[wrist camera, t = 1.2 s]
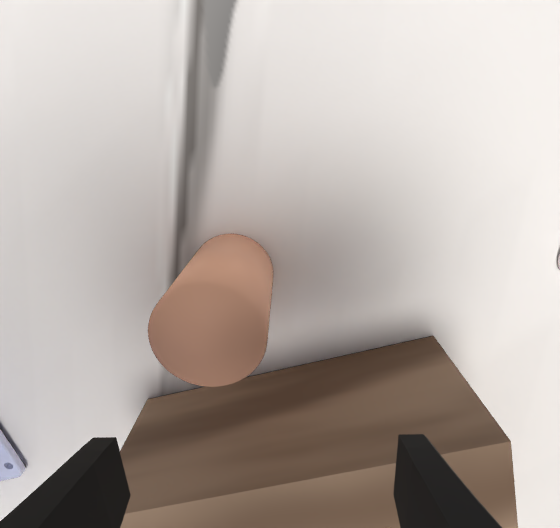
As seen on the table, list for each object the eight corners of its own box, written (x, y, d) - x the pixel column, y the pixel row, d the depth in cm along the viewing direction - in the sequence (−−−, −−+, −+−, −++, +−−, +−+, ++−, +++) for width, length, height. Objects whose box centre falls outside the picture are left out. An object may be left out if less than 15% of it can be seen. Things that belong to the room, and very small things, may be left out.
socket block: (147, 399, 20) (82, 523, 14) (433, 335, 19) (511, 442, 12) (225, 560, 25) (203, 710, 18) (461, 520, 23) (530, 670, 17)
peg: (180, 245, 17) (129, 299, 12) (260, 224, 17) (247, 269, 11) (207, 317, 19) (173, 396, 13) (282, 299, 18) (281, 373, 13)
